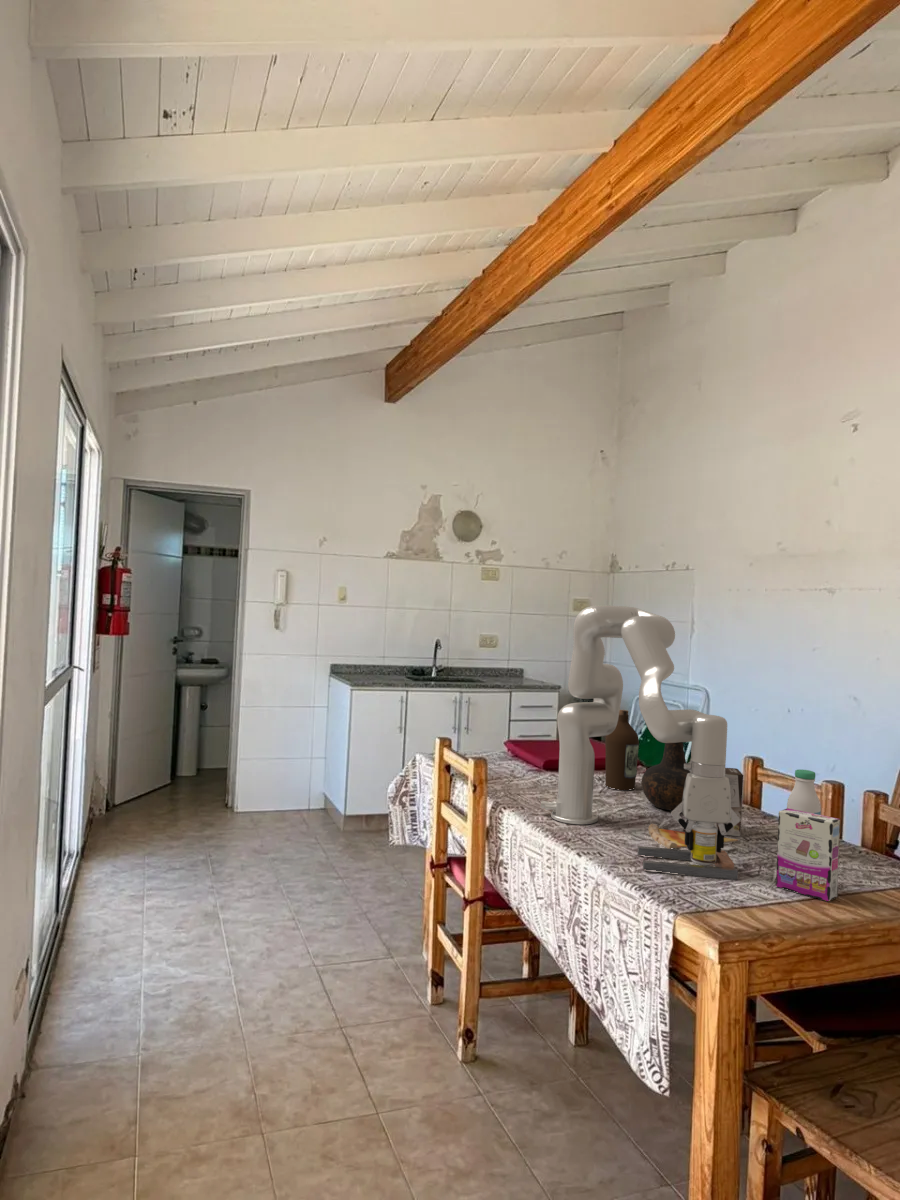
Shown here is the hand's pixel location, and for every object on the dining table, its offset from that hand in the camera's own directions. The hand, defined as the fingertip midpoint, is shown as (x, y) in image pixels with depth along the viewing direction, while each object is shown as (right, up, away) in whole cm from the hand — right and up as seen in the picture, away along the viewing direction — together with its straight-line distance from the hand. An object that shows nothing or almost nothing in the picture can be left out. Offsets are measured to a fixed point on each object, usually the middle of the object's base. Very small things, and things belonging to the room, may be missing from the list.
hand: (703, 848), depth 176 cm
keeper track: (-4, -4, 0) cm, 6 cm away
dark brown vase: (+8, -5, +53) cm, 54 cm away
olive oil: (-2, -4, +76) cm, 76 cm away
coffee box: (+16, -5, +31) cm, 35 cm away
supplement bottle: (0, -3, 0) cm, 3 cm away
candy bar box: (+17, -5, -13) cm, 22 cm away
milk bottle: (+29, -6, +15) cm, 33 cm away
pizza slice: (+3, -5, +19) cm, 19 cm away
